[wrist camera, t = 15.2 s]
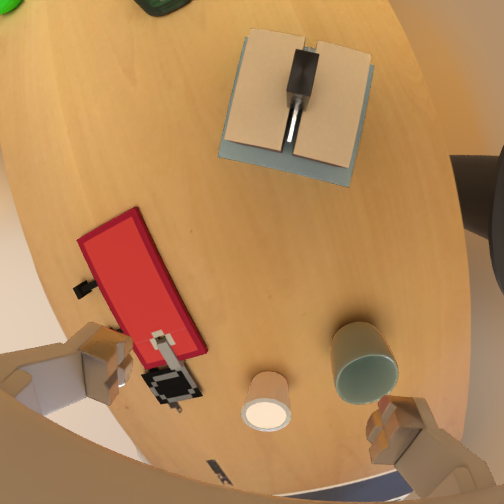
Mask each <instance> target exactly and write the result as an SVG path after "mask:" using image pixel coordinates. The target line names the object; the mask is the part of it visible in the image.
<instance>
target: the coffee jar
mask: <svg viewBox="0 0 504 504" xmlns="http://www.w3.org/2000/svg"><path fill="white" fill-rule="evenodd" d="M134 1H135V2H136V3H137V4H138V5H139V6H140V7H141V8H142V9H143V10H144V11H145V12H146V13H147V14H149V15H151V16H161V15H165V14H167V13H170V12H172V11H174V10H176V9H178V8H180V7H182V6H183V5H185V4H186V3H187V2H189V1H190V0H134Z"/></svg>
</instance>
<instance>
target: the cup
mask: <svg viewBox="0 0 504 504" xmlns="http://www.w3.org/2000/svg"><path fill="white" fill-rule="evenodd" d="M330 354H331V366H332V373H333V380H334V385H335V388H336V391H337V393H338V395H339V396H340V398H341V399H342V400H344V401H346V402H347V403H351V404H357V405H360V404H368V403H372V402H375V401H377V400H380V399H381V398H382V397H383V396H384V395H388V394H389V393H390V392H391V391H392V390H393V388H394V387H395V385H396V383H397V380H398V373H399V371H398V365H397V362H396V360H395V358H394V355H393V353H392V351H391V349H390V347H389V345H388V343H387V341H386V339H385V338H384V336H383V335H382V333H381V332H380V331H379V330H378V329H377V328H376V327H375V326H374V325H372V324H370V323H367V322H352V323H349V324H347V325H345V326H343V327H342V328H340V329H339V330H338V331H337V332H336V334H335V335H334V337H333V340H332V343H331V353H330Z"/></svg>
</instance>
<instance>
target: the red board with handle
mask: <svg viewBox="0 0 504 504" xmlns="http://www.w3.org/2000/svg"><path fill="white" fill-rule="evenodd" d="M77 242H78V244H79V247H80V249H81V251H82V253H83V256H84V258H85V260H86V262H87V264H88V266H89V268H90V270H91V273H92V275H93V277H94V279H95V280H94V281H92V282H90V283H87V280H86V281H84V282H82V283H81V284H79V285H77V286H76V287H74V288H73V290H74V292H75V294H76V296H77V298H78V299H81V298H83V297H84V296H85V295H87V294H88V293H90V292H91V289H93V288H95V287H97V286H98V287H99V289H100V291H101V293H102V295H103V297H104V299H105V300H106V302H107V304H108V306H109V308H110V310H111V312H112V314H113V315H114V317H115V319H116V321H117V323H118V324H119V326H120V328H121V329H119V330H116V331H118V332H120V333H123V334H125V335H128V336H131V337H132V339H133V350H134V352H135V354H136V355H137V357H138V358H139V360H140V362H141V363H142V365H143V366H144V368H145V370H146V369H150V368H154V367H158V366H162V365H166V364H168V366H169V367H170V368H167V369H163V370H159V371H155V372H150V373H146V374H142V375H141V376H142V377H143V379H144V380H145V382H146V384H147V385H148V387H149V388H150V389H151V391H152V392H153V394H154V395H155V397H156V398H157V400H158V401H159V403H160V404H166V403H171V402H176V401H181V400H186V399H191V398H196V397H201V396H203V395H202V393H201V392H200V390H199V389H198V387H197V386H196V384H195V382H194V381H193V379H192V378H191V376H190V374H189V373H188V371H187V369H186V368H185V366H184V362H185V359H189V358H192V357H196V356H199V355H203V354H207V352H208V349H207V347H206V345H205V343H204V342H203V340H202V338H201V336H200V334H199V332H198V330H197V329H196V327H195V325H194V323H193V321H192V319H191V317H190V315H189V313H188V312H187V310H186V308H185V306H184V304H183V302H182V300H181V298H180V296H179V294H178V292H177V290H176V288H175V286H174V284H173V282H172V280H171V278H170V276H169V274H168V272H167V270H166V268H165V266H164V264H163V261H162V259H161V257H160V255H159V253H158V251H157V249H156V247H155V244H154V242H153V240H152V238H151V236H150V234H149V231H148V229H147V227H146V225H145V223H144V220H143V218H142V216H141V213H140V211H139V209H138V207H134V208H132V209H130V210H128V211H127V212H125V213H123V214H121V215H119V216H117V217H116V218H114V219H112V220H110V221H108V222H107V223H105V224H103V225H101V226H100V227H98V228H96V229H94V230H93V231H91V232H89V233H87V234H86V235H84V236H82V237H81V238H79V239H77ZM110 329H112V328H110ZM163 335H165V338H162V339H160V340H159V339H158V337H159V336H163Z"/></svg>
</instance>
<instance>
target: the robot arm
mask: <svg viewBox="0 0 504 504" xmlns="http://www.w3.org/2000/svg"><path fill="white" fill-rule="evenodd" d="M132 349H133V339H132V337H131V336H128V335H125V334H123V333H120V332H118V331H115V330H112V329H110V328H107V327H104V326H102V325H99V324H97V323H94V322H89V323H87V324H86V325H85V326H84V327H83V328H82V329H80V330H79V331H78V332H77V333H76V334H75V335H74V336H72V337H71V338H70V339H69V340H68V341H67V342H66V343H64V344H62V343H55V344H51V345H46V346H41V347H35V348H30V349H25V350H20V351H15V352H9V353H4V354H0V504H504V484H502V485H498V486H497V485H496V483H495V481H494V479H493V476H492V474H491V472H490V470H489V468H488V466H487V463H486V462H485V461H483V460H482V459H481V458H479V457H478V456H477V455H476V454H474V453H472V452H471V451H470V450H469V449H468V448H466V447H465V446H464V445H462V444H461V443H460V442H459V441H457V440H456V439H455V438H454V437H452V436H451V435H450V434H448V433H447V432H446V431H445V430H443V429H439V428H438V426H437V423H436V421H435V419H434V417H433V415H432V412H431V410H430V408H429V406H428V404H427V402H426V400H425V399H424V398H423V397H401V396H391V395H384V396H383V397H382V398H381V399H380V400H379V402H378V407H379V409H378V410H376V411H375V412H373V413H372V414H371V416H370V418H369V420H368V422H367V426H366V437H367V440H368V441H369V442H370V443H371V444H372V445H371V447H370V448H369V452H370V457H371V462H372V464H384V465H394V467H395V468H396V469H397V470H398V472H399V473H400V474H401V475H402V476H403V478H404V479H405V480H406V481H407V483H408V484H409V485H410V486H411V487H412V489H413V490H414V491H415V492H416V493H417V494H418V496H419V497H420V498H421V499H417V500H406V501H390V502H333V501H317V500H305V499H295V498H286V497H279V496H272V495H265V494H259V493H253V492H248V491H242V490H237V489H233V488H228V487H224V486H219V485H215V484H211V483H207V482H203V481H199V480H196V479H192V478H188V477H185V476H182V475H178V474H175V473H172V472H169V471H166V470H162V469H159V468H157V467H154V466H151V465H148V464H145V463H142V462H140V461H137V460H134V459H132V458H129V457H127V456H124V455H122V454H119V453H117V452H115V451H112V450H110V449H108V448H105V447H103V446H101V445H99V444H96V443H94V442H92V441H90V440H88V439H86V438H83V437H82V436H80V435H77V434H76V433H74V432H72V431H70V430H68V429H66V428H64V427H62V426H60V425H58V424H57V423H55V422H53V421H51V420H49V419H48V418H46V417H44V416H45V415H48V414H50V413H52V412H55V411H57V410H59V409H62V408H64V407H66V406H69V405H71V404H73V403H75V402H78V401H80V400H82V399H84V398H86V396H87V397H89V398H92V399H94V400H96V401H99V402H101V403H104V404H106V405H109V406H110V405H111V404H112V402H113V401H114V399H115V398H116V397H117V395H118V394H119V387H120V386H123V385H125V384H126V382H127V381H128V379H129V377H130V374H131V371H132V366H133V358H132V357H131V355H130V353H129V352H130V351H131V350H132Z"/></svg>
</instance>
